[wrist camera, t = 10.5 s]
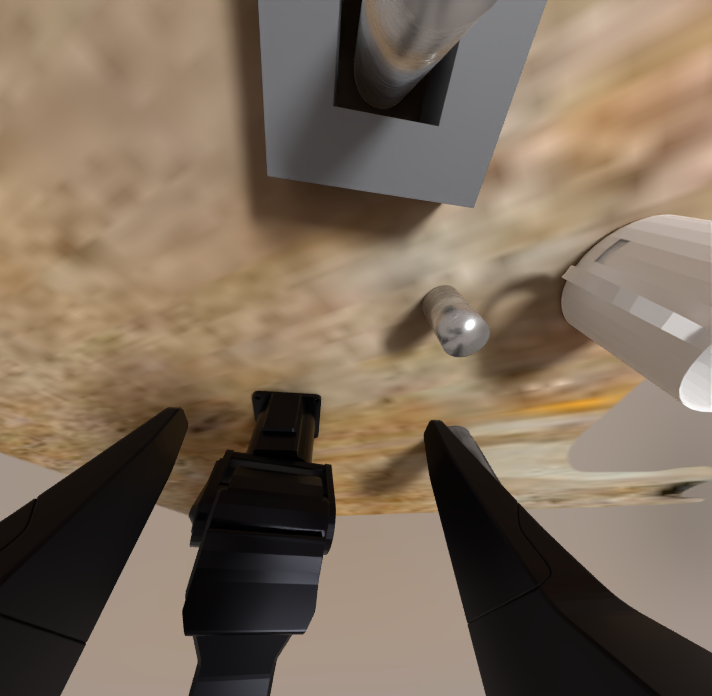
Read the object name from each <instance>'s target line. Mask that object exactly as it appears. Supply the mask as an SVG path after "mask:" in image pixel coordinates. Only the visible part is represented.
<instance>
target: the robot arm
mask: <svg viewBox="0 0 712 696" xmlns="http://www.w3.org/2000/svg"><path fill="white" fill-rule="evenodd" d="M252 398H253V405H254V413H255V420H256V425H255V428H254V431H253V434H252V437H251V440H250V443H249V446H248V449H247V452H246V453H240V452H234V450H228V449H227V450H226V453H225V455H224V457H223V458H220V460H218V461H216V463H215V466H214V468H213V470H212V473H211V475H210V477H209V480H208V482H207V483H206V485H205V487H204V488H203V490H202V491H201V493H200V495H199V496H198V498H197V499H196V501H195V503H194V504H193V506H192V508H191V510H190V513H189V518H190V520H191V522H192V524H193V526H192V530H191V533H192V536H191V540H190V547H199V550H198V553H197V556H196V560H195V563H194V566H193V570H192V573H191V576H190V579H189V583H188V586H187V589H186V594H185V599H186V600H185V604H184V607H183V610H182V615H183V627H184V634H185V636H193V639H194V644H195V649H196V654H197V659H198V664H197V667H196V671H195V674H194V678H193V682H192V686H191V689H190V693H189V696H270V693H271V687H272V682H273V676H274V671H275V666H276V661H277V658H278V656H279V655H280V653H281V652H282V650H283V648H284V647H285V645H286V644H287V642H288V641H289V639H290V637H291V636H292V635H293V634H304V633H305V631H306V630H307V628H308V625H309V623H310V621H311V619H312V617H313V615H314V613H315V608H316V599H317V590H318V582H319V575H320V570H321V564H322V559H323V555H326V554H328V552H329V550H330V547H331V544H332V540H333V535H334V529H335V518H336V506H335V495H334V486H333V476H332V466H331V465H330V464H325V465H323V464H316V463H312V453H313V443H314V438H317V437H318V433H319V421H320V409H321V396H320V395H317V394H300V393H283V392H266V391H256V392H254V394H253V397H252ZM315 399H317V400H315ZM187 428H188V421H187V419H186V416H185V413H184V410H183V409H182V408H180V407H168V408H166V409H165V410H163V411H162V412H160V413H159V414H157V415H156V416H154V417H153V418H151V419H150V420H148V421H147V422H146V423H144V424H143V425H141V426H140V427H138V428H137V429H135V430H134V431H132V432H131V433H130V434H128V435H127V436H125V437H124V438H122V439H121V440H119V441H118V442H116V443H115V444H113V445H112V446H111V447H109V448H108V449H106V450H105V451H103V452H102V453H100V454H99V455H97V456H96V457H95V458H93V459H92V460H90V461H89V462H87V463H86V464H84V465H83V466H81V467H80V468H78V469H77V470H76V471H74V472H73V473H71V474H70V475H68V476H67V477H65V478H64V479H62V480H61V481H59V482H58V483H57V484H55V485H54V486H52V487H51V488H49V489H48V490H46V491H45V492H44V493H42V494H41V495H39V496H38V497H37V499H33V500H32V501H30V502H29V503H27V504H26V505H25V506H23V507H21V508H20V509H18V510H17V511H16V512H14V513H13V514H11V515H10V516H8V517H7V518H5V519H4V520H2V521H1V522H0V696H60V695H61V693H62V691H63V689H64V687H65V685H66V683H67V681H68V679H69V677H70V675H71V673H72V671H73V669H74V667H75V665H76V663H77V661H78V659H79V657H80V655H81V653H82V651H83V649H84V647H85V645H86V642H87V641H88V639H89V637H90V635H91V632H92V630H93V629H94V626H95V625H96V622H97V621H98V619H99V617H100V615H101V612H102V610H103V608H104V606H105V604H106V602H107V600H108V598H109V596H110V594H111V592H112V590H113V588H114V586H115V584H116V582H117V580H118V578H119V576H120V574H121V572H122V570H123V568H124V566H125V564H126V562H127V560H128V558H129V556H130V554H131V552H132V550H133V548H134V546H135V544H136V542H137V540H138V538H139V536H140V534H141V532H142V530H143V528H144V526H145V524H146V522H147V520H148V518H149V516H150V514H151V512H152V510H153V508H154V506H155V504H156V502H157V500H158V498H159V496H160V494H161V492H162V490H163V488H164V486H165V484H166V482H167V480H168V478H169V476H170V474H171V471H172V469H173V466H174V464H175V461H176V458H177V456H178V453H179V450H180V448H181V445H182V442H183V440H184V437H185V434H186V431H187ZM424 443H425V450H426V457H427V463H428V470H429V476H430V481H431V485H432V489H433V492H434V496H435V500H436V504H437V508H438V512H439V515H440V520H441V523H442V527H443V531H444V535H445V539H446V543H447V547H448V550H449V554H450V558H451V562H452V566H453V570H454V573H455V577H456V581H457V585H458V589H459V593H460V596H461V600H462V604H463V608H464V612H465V616H466V620H467V623H468V628H469V632H470V636H471V640H472V643H473V648H474V651H475V655H476V659H477V663H478V666H479V671H480V675H481V678H482V682H483V686H484V690H485V694H486V696H712V653H711V652H710V651H708V650H706V649H704V648H702V647H701V646H699V645H697V644H695V643H693V642H692V641H690V640H688V639H686V638H684V637H682V636H681V635H679V634H677V633H676V632H674V631H672V630H670V629H668V628H667V627H665V626H663V625H661V624H659V623H658V622H656V621H654V620H652V619H651V618H649V617H647V616H645V615H643V614H642V613H640V612H638V611H637V610H635V609H633V608H632V607H630V606H629V605H627V604H626V603H625V602H623V601H622V600H620V599H619V598H618V597H617V596H615V595H614V594H613V593H612V592H611V591H609V590H608V589H607V588H606V587H605V586H604V585H603V584H602V583H601V582H599V581H598V580H597V579H596V578H595V577H594V576H593V575H592V574H591V573H590V572H589V571H588V570H587V569H586V568H585V567H583V566H582V565H581V564H580V563H579V562H578V561H577V560H576V559H575V558H574V557H573V556H572V555H571V554H570V553H569V552H567V551H566V550H565V549H564V548H563V547H562V546H561V545H560V544H559V543H558V542H557V541H556V540H555V539H554V538H553V537H552V536H551V535H550V534H549V533H548V532H547V531H546V530H544V529H543V527H542V526H540V525H539V523H538V522H537V521H536V520H535V519H534V518H533V517H532V516H531V515H530V514H529V513H528V512H527V511H526V510H525V509H524V508H523V507H522V506H521V505H520V504H519V503H517V500H516V499H515V498H514V497H513V496H512V495H511V494H510V493H509V492H508V491H507V490H506V489H505V488H504V487H503V486H502V485H501V483H500V482H499V481H498V480H497V479H496V478H495V477H494V476H493V475H492V474H491V473H490V472H489V471H488V470H487V469H486V468H485V466H484V465H483V464H482V463H481V462H480V461H479V460H478V459H477V458H476V457H475V456H474V455H473V454H472V453H471V452H470V450H469V449H468V448H467V447H466V446H465V445H464V444H463V443H462V442H461V441H460V440H459V439H458V438H457V437H456V436H455V435H454V433H453V432H452V431H451V430H450V429H449V428H448V427H447V426H446V425H445V424H444V423H443V422H442V421H440V420H431V421H429V423H428V426H427V428H426V430H425V432H424Z"/></svg>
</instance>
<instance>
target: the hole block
mask: <svg viewBox="0 0 712 696" xmlns="http://www.w3.org/2000/svg"><path fill="white" fill-rule="evenodd" d="M546 2H547V0H498V1H497V2H496V3H495V4H494V5H493V6H492V7H491V8H490V9H489V10H488V11H487V12H486V13H485V14H484V15H483V16H482V17H481V18H480V19H479V21H478V22H477V23H476V24H475V25H474V26H473V27H472V28H471V29H470V30H469V31H468V32H467V33H466V34H465V35H464V36H463V37H462V38H461V39H460V40H459V41H458V42H457V43H456V44H455V45H454V46H453V47H452V48H451V49H450V50H449V51H448V53H447V54H446V55H445V56H444V57H443V58H442V59H441V60H440V61H439V62H438V63H437V64H436V65H435V66H434V67H433V68H432V69H431V70H430V71H429V76H428V81H427V86H426V91H425V95H424V100H423V105H422V110H421V114H420V119H419V122H413V121H408V120H403V119H398V118H393V117H387V116H382V115H377V114H372V113H367V112H361V111H356V110H351V109H346V108H340V107H336V93H337V78H338V63H339V48H340V33H341V18H342V3H343V0H258V8H259V27H260V46H261V65H262V84H263V103H264V122H265V141H266V160H267V176H270V177H276V178H283V179H289V180H296V181H302V182H309V183H315V184H322V185H328V186H334V187H341V188H347V189H354V190H360V191H367V192H373V193H380V194H386V195H393V196H399V197H405V198H412V199H418V200H425V201H431V202H438V203H444V204H451V205H457V206H463V207H470V208H474V206H475V203H476V200H477V197H478V194H479V191H480V189H481V186H482V183H483V180H484V177H485V174H486V172H487V169H488V166H489V163H490V160H491V157H492V155H493V152H494V149H495V146H496V143H497V141H498V138H499V135H500V132H501V129H502V126H503V124H504V121H505V118H506V115H507V112H508V109H509V107H510V104H511V101H512V98H513V95H514V92H515V90H516V87H517V84H518V81H519V78H520V75H521V73H522V70H523V67H524V64H525V61H526V59H527V56H528V53H529V50H530V47H531V44H532V42H533V39H534V36H535V33H536V30H537V27H538V25H539V22H540V19H541V16H542V13H543V10H544V8H545V5H546Z"/></svg>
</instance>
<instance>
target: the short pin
mask: <svg viewBox="0 0 712 696" xmlns="http://www.w3.org/2000/svg"><path fill="white" fill-rule="evenodd" d="M422 311H423V313H424V315H425V317H426V318H427V320H428V322H429V324H430V326H431V327H432V329H433V331H434V333H435V335H436V336H437V338H438V340H439V342H440V344H441V345H442V347H443V349H444V351H445V352H446V353H447V354H449V355H451V356H454V357H465V356H469V355H472V354H474V353H476V352H477V351H479V350H480V349H481V348H482V347H483V346H484V345H485V344H486V343H487V341H488V339H489V336H490V328H489V326H488V324H487V323H486V322H485V321H484V319H483V318H482V317H481V316H480V315H479V314H478V313H477V312H476V311H475V310H474V309H473V307H472V306H471V305H470V304H469V303H468V302H467V301H466V300H465V299H464V298H463V297H462V295H461V294H460V293H459V292H458V291H457V290H456V289H455V288H453V287H451V286H446V285H444V286H438V287H436V288H434V289H432V290H431V291H429V292H428V293H427V295H426V296H425V297H424V299H423V302H422Z"/></svg>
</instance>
